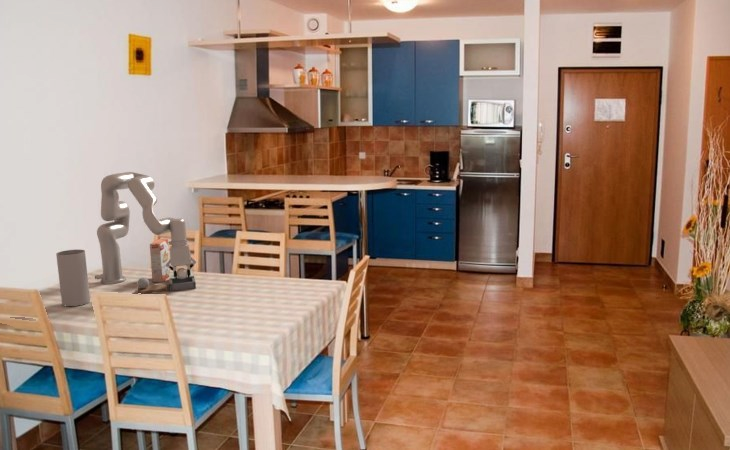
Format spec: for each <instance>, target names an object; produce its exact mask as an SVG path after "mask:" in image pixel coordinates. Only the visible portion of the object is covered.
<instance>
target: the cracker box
mask: <svg viewBox="0 0 730 450" xmlns="http://www.w3.org/2000/svg"><path fill="white" fill-rule="evenodd" d="M149 253H150V265H151V266H150V267H151V279H152V280H151V281H152V283H163V282H164V281H166V280H167V279H169V273H171V269H170V268H168V267H167V266H166V264H167V262H168V261H169V260H170V249H169V239H167V238H159V239H158V238H157V239H156V240H155V241H152V242H151V243H150V244H149ZM169 265H170V266H171V263H170V264H169Z"/></svg>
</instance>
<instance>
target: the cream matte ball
mask: <svg viewBox="0 0 730 450" xmlns="http://www.w3.org/2000/svg"><path fill="white" fill-rule="evenodd" d="M176 271H177V272H176V273H177V277H178V278H180V279H184V278H186V277H187V275H188V273H187V269H186V268H184V267H180V268H178V269H177V270H176Z"/></svg>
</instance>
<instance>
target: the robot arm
mask: <svg viewBox="0 0 730 450" xmlns="http://www.w3.org/2000/svg"><path fill="white" fill-rule="evenodd" d="M154 188H155V180H153V178H152V177H151V176H149V175H147V174H144V173H143V174H142V173H137V172H134V171H126V172H120V173H119V172H117V173H112V174H110V175H107V176H105V177H103V178H102V180H101V184H100V190H101V191H100V192H101V199H100V200H101V201H100V204H101V205H100V217H101V219H102V220H103V221H104V223H102V224H100V225H99V226H98V228H97V230H96V235H97V238H98V243H99V248H100V255H101V264H102V273H101V274H95V275H94V279H95V280H100V283H101V284H105V285H106V284H110V285H111V284H112V285H113V284H119V283H123V282H125V281H126V280H127V279H126V276H124V275H123V270H122V259H121V249H120V245H119V244H118V242H117V240H119V239H121V238H125V237H126V236H127V235H128V234H129V229H130V218H131V217H130V215H131V214H130V213H131V211H130V207H129V205H128V203H126V202H125V201H123V200H120V196H119V193H118V191H121V190H127V189H128V190H129V191H130V193H131V194H132V195H133V196H134V198H135V200H136V201H137V203H138V204H139V205H140V207H141V208H142V212H141V213H142V219H143V223H145V226H146V227H147V228H148V230H149V231H151V233H152V234H154V235H155V236H156V235H157V236H160V235H165V234H168V233H170V239H171V240H170V241H168V245H169V246H170V245H171V246H170V248H169V261H168V262H167V264H166V266H167V267H168V268H170V271H172V273H173V272H174V277H175V279H177V273H176V271H177V270H176V269H177V267H181V266H186V268H187V269H186V270H187V273H188V278H189V276H191V274H190V271H191V269H192V268H193V267H194V266H195V264H197V260H195V259H194V258H193V257H191V256H192V255H191V249H190V246H189V244H188V240H187V239H188V237H187V228H186V220H185V219H183V218H173V217H165V218H161V219H158V218H157V216H156V215H155V213H154V210H153V207H155V205H156V203H157V202H158V198H157V196H155V194H154V193H153V190H154ZM105 222H106V223H105ZM169 264H170V265H169Z"/></svg>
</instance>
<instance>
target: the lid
mask: <svg viewBox="0 0 730 450" xmlns="http://www.w3.org/2000/svg"><path fill="white" fill-rule="evenodd" d="M176 272H177V270H176ZM194 273H195V272H194V270H190V274H191V276H189V277H194V278H195V274H194ZM186 278H188V275H187V277H186ZM168 279H175V277H174V272H173V271H172V272H170V273H169V277H168ZM177 279H179V278H178V277H177Z"/></svg>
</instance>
